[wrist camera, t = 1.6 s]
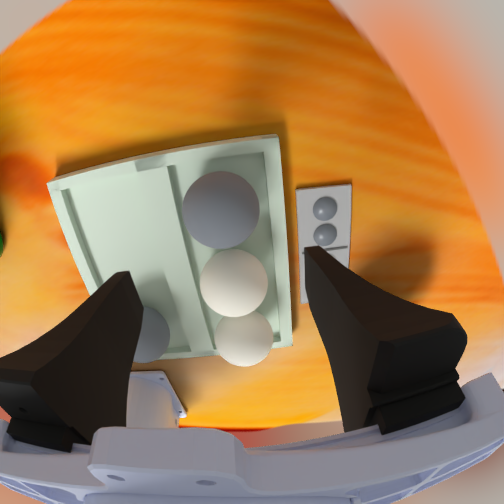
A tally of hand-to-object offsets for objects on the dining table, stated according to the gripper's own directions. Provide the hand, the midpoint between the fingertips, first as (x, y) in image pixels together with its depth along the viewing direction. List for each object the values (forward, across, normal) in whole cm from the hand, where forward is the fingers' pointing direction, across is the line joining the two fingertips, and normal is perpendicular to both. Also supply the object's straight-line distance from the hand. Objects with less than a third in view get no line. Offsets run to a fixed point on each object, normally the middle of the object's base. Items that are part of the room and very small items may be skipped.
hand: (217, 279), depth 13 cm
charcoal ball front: (+9, 0, 0) cm, 9 cm away
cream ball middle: (+9, 0, +5) cm, 11 cm away
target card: (+10, -7, +5) cm, 13 cm away
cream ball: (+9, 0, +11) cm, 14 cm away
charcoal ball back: (+9, +8, +9) cm, 15 cm away
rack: (+10, +4, +5) cm, 12 cm away
